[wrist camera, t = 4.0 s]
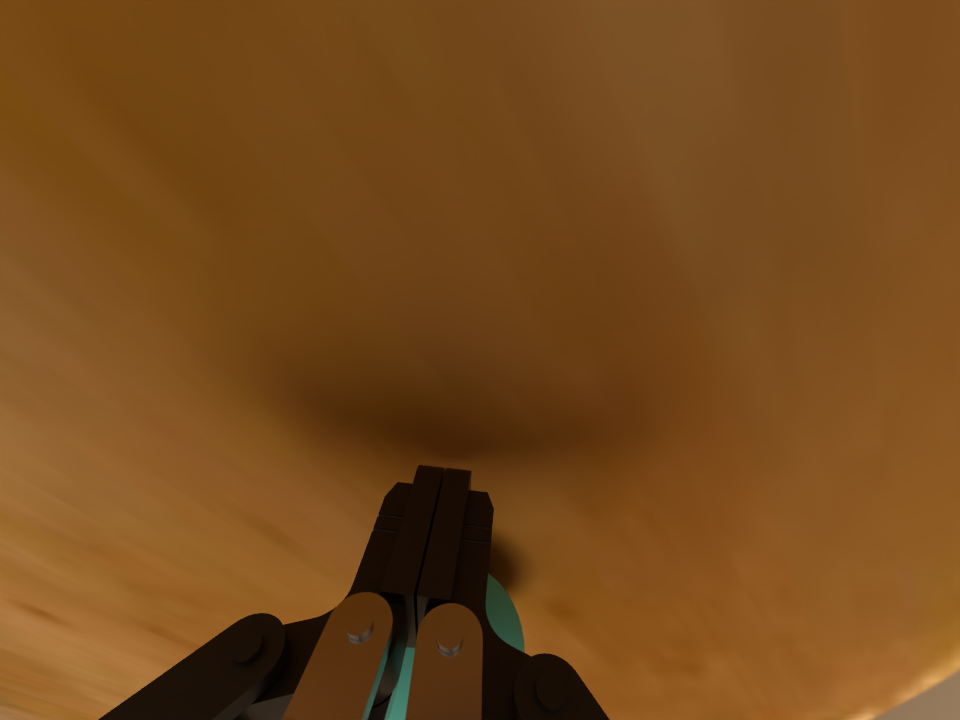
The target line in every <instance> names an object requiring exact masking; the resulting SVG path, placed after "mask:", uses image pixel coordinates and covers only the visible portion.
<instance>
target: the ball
mask: <svg viewBox="0 0 960 720" xmlns="http://www.w3.org/2000/svg"><path fill="white" fill-rule="evenodd" d="M486 614H487V617H488V620H489V623H490V625H491V627H492V628H493V630H494V631H495V633H496V634H497V635H498V636H499V637H500V638H501V639H502V640H503V641H505V642H506V643H508V644H509V645H511V646H513V647H515V648H516V649H518V650H520V651H522V652H524V638H523V632H522V627H521V623H520V619H519V616H518V613H517V611H516V609H515V607H514V604H513V602H512V600H511V599H510V597H509V595H508V594H507V592H506V591H505V589H504V588H503V587H502V586H501V585H500V583H499V582H498V581H497V580H496V579H495V578H494V577H492V576H491V575H490V574H489V573H488V581H487V592H486ZM414 653H415V648H410V647H406V650H405V655H404V659H403V664H402V668H401V673H400V677H399V684H398V688H397V692H396V695H395V699H394V702H393V706H392V709H391V713H390V716H389V719H388V720H405V717H406V710H407V703H408V696H409V689H410V681H411V674H412V667H413V660H414Z"/></svg>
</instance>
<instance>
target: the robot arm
mask: <svg viewBox="0 0 960 720" xmlns="http://www.w3.org/2000/svg"><path fill="white" fill-rule="evenodd" d="M493 511H494V508H493V506H492V503H491V500H490V498H489V495H488V492H480V491H471V471H469V470H460V469H451V468H446V470H445V468H441V467H432V466H423V465H419V466H418V468H417V471H416V475H415V478H414V481H413V484H409V483H401V482H398V483H397V484H396V485H395V486H394V487H393V488H392V489H391V490H390V491H389V493H388V494H387V495H386V496H385V498H384V501H383V503H382V506H381V509H380V512H379V516H378V517H377V520H376V523H375V525H374V529H373V531H372V533H371V536H370V539H369V542H368V544H367V547H366V550H365V553H364V555H363V558H362V561H361V564H360V566H359V569H358V572H357V574H356V577H355V580H354V583H353V585H352V587H351V590H350V591H349V593H348V595H347V596H346V597H345V599H344V600H343V601H342V602H340V603H339V604H338V606H337V607H335V608H334V609H333V610H331V611H330V612H328V613H326V614H324V615H322V616H319V617H316V618H312V619H308V620H303V621H299V622H294V623H290V624H285V625H282V623H281V621H280V620H279V619H278V618H276V617H275V616H273V615H271V614H266V613H259V614H253V615H250V616H247V617H245V618H243V619H240V620H239V621H237V622H236V623H234V624H233V625H231V626H230V627H228V628H227V629H226V630H224V631H223V632H221V633H220V634H219V635H217V636H216V637H214V638H213V639H212V640H210V641H209V642H207V643H206V644H204V645H203V646H202V647H200V648H199V649H197V650H196V651H195V652H193V653H192V654H190V655H189V656H188V657H186V658H185V659H183V660H182V661H180V662H179V663H178V664H176V665H175V666H173V667H172V668H171V669H169V670H168V671H166V672H165V673H164V674H162V675H161V676H159V677H158V678H156V679H155V680H154V681H152V682H151V683H149V684H148V685H147V686H145V687H144V688H142V689H141V690H139V691H138V692H137V693H135V694H134V695H132V696H131V697H130V698H128V699H127V700H125V701H124V702H123V703H121V704H120V705H118V706H117V707H115V708H114V709H113V710H111V711H110V712H108V713H107V714H106V715H104V716H103V717H101V718H100V719H99V720H388V719H389V716H390V713H391V709H392V706H393V702H394V699H395V695H396V692H397V688H398V684H399V677H400V673H401V668H402V664H403V659H404V655H405V650H406V647H410V648H415V653H414V660H413V667H412V674H411V681H410V689H409V696H408V703H407V710H406V717H405V720H609V718H608V717H607V715H606V714H605V713H604V711H603V710H602V708H601V707H600V705H599V704H598V703H597V701H596V700H595V698H594V697H593V695H592V694H591V692H590V691H589V690H588V688H587V687H586V685H585V684H584V682H583V681H582V680H581V678H580V677H579V675H578V674H577V672H576V671H575V670H574V669H573V667H572V666H571V665H570V664H569V663H567V662H566V661H565V660H563V659H562V658H560V657H558V656H556V655H552V654H545V653H544V654H537V655H534V656H532V657H531V656H529V655H527V654H525V653H524V652H522V651H520V650H518V649H516V648H515V647H513V646H511V645H509V644H508V643H506V642H505V641H503V640H502V639H501V638H500V637H499V636H498V635H497V634H496V633H495V631H494V630H493V628H492V627H491V625H490V623H489V620H488V617H487V614H486V592H487V581H488V569H489V558H490V546H491V534H492V523H493Z"/></svg>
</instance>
